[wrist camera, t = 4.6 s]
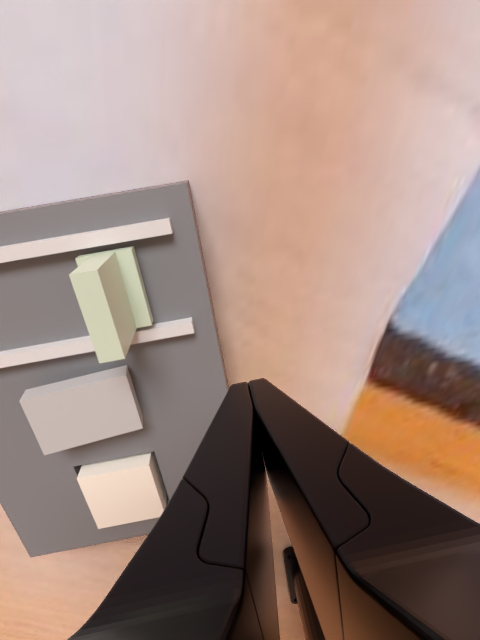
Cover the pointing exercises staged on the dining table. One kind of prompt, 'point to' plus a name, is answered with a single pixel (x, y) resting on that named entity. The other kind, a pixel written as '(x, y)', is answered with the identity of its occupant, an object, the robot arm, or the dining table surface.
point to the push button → (123, 489)
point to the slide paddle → (111, 300)
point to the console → (80, 357)
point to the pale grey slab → (82, 409)
